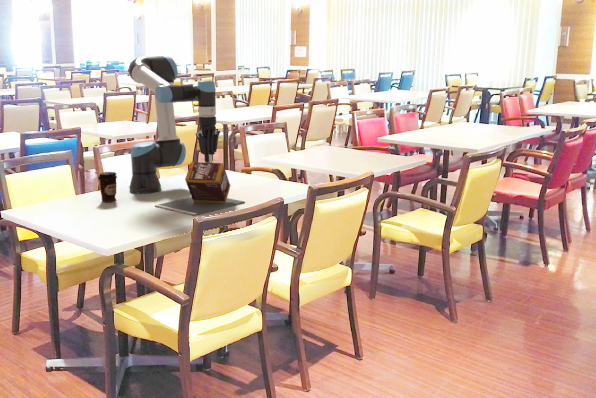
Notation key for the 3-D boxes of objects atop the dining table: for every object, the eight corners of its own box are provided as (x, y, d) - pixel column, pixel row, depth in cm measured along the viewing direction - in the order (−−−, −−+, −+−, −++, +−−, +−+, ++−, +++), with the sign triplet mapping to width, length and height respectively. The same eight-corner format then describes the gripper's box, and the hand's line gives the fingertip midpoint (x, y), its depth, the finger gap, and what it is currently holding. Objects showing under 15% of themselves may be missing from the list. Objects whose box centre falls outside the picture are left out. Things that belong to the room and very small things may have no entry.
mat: (154, 206, 284) (154, 205, 284) (205, 195, 307) (205, 193, 307) (194, 215, 268) (194, 214, 268) (244, 202, 291) (244, 201, 291)
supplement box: (226, 203, 287) (218, 180, 275) (193, 202, 290) (184, 179, 278) (231, 185, 293) (223, 162, 282) (199, 184, 297) (190, 161, 285)
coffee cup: (123, 200, 297) (121, 172, 294) (110, 203, 290) (108, 175, 287) (108, 198, 301) (106, 170, 298) (95, 202, 293) (93, 173, 290)
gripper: (202, 117, 276) (204, 171, 282) (224, 115, 286) (225, 167, 292) (190, 116, 281) (192, 170, 286) (212, 114, 291) (213, 166, 296)
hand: (209, 168), depth 289 cm, fingers closed
